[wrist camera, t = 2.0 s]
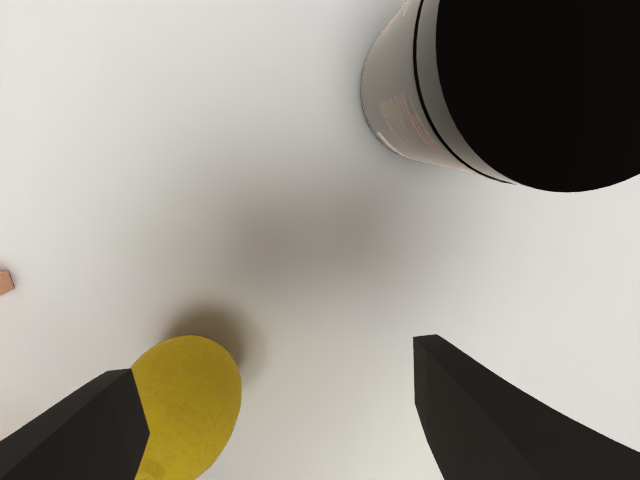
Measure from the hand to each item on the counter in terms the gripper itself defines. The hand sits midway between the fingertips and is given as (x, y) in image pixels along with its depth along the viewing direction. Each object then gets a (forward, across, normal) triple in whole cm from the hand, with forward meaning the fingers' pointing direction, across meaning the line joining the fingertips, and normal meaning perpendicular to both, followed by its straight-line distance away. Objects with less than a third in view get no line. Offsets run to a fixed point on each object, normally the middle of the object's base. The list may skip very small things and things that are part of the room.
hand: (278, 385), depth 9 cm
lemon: (+11, +6, +5) cm, 13 cm away
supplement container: (+11, -7, -8) cm, 15 cm away
